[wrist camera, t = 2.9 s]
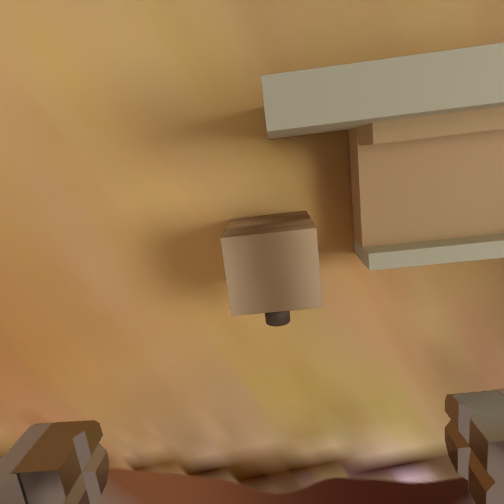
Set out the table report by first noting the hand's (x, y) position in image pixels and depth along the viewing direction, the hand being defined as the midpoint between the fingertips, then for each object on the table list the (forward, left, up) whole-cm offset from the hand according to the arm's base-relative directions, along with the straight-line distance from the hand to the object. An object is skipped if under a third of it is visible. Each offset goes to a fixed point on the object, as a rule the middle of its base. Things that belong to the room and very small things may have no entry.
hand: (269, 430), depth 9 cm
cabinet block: (0, 0, -18) cm, 18 cm away
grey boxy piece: (-12, -4, -18) cm, 22 cm away
